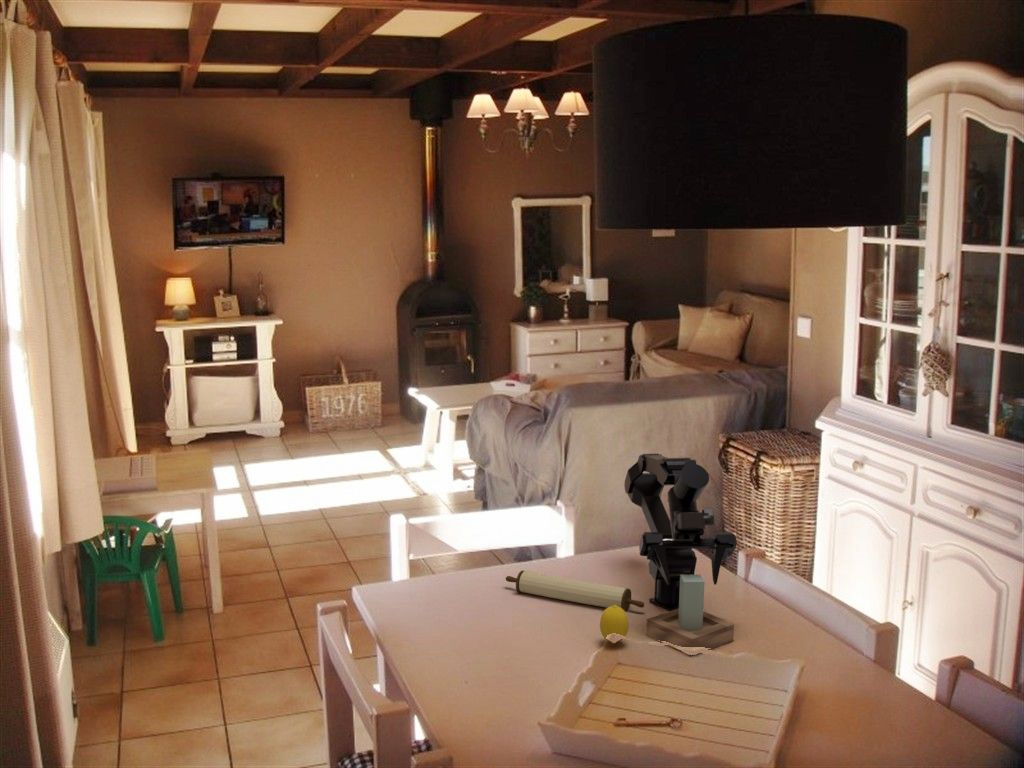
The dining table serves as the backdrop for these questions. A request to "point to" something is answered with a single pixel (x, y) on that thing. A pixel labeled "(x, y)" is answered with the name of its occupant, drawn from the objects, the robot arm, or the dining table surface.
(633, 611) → the dining table surface
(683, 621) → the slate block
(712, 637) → the walnut base
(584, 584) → the rolling pin
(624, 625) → the lemon
